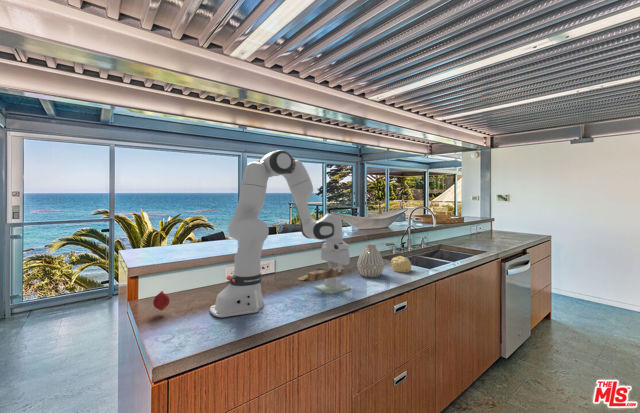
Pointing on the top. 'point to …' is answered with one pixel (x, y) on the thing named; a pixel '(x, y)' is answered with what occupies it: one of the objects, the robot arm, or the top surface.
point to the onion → (161, 301)
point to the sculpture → (401, 264)
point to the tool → (307, 276)
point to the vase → (370, 262)
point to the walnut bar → (325, 274)
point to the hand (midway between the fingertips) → (334, 270)
